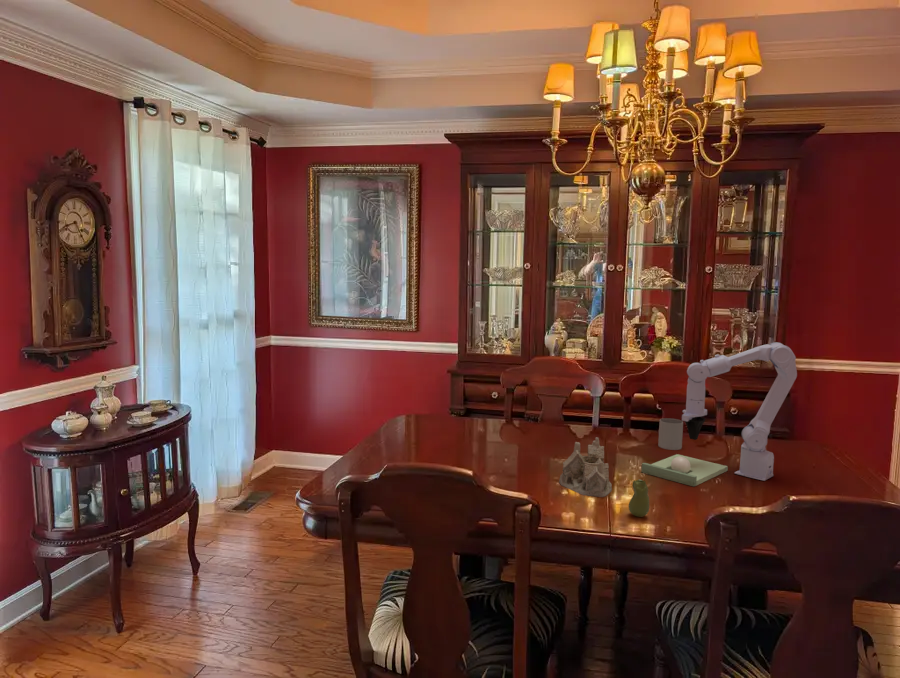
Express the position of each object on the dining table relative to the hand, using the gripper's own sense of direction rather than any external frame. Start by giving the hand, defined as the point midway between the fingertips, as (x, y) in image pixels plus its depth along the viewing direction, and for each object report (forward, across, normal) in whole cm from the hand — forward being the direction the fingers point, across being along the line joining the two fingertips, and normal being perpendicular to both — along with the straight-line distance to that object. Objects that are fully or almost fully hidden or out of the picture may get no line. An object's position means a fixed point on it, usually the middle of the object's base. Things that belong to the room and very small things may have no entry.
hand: (693, 438), depth 209 cm
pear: (+10, +51, +9) cm, 53 cm away
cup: (+10, -20, -18) cm, 28 cm away
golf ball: (+7, +9, 0) cm, 12 cm away
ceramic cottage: (+10, +42, -14) cm, 46 cm away
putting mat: (+10, +5, 0) cm, 11 cm away
